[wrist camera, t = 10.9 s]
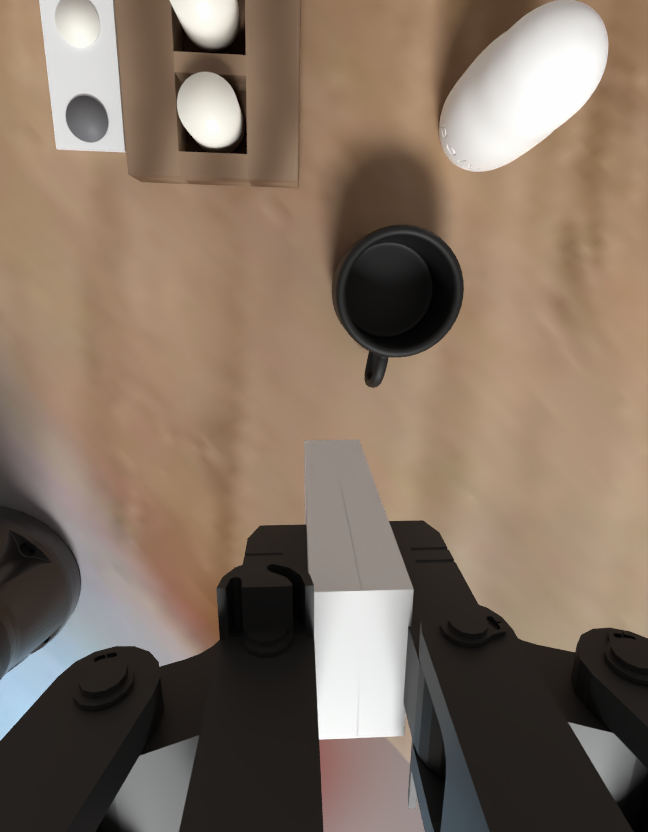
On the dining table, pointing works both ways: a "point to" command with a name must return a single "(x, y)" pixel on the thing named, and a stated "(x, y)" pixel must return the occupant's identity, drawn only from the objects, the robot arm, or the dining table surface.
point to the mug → (397, 294)
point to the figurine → (524, 85)
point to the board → (254, 73)
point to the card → (84, 74)
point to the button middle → (209, 22)
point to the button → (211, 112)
